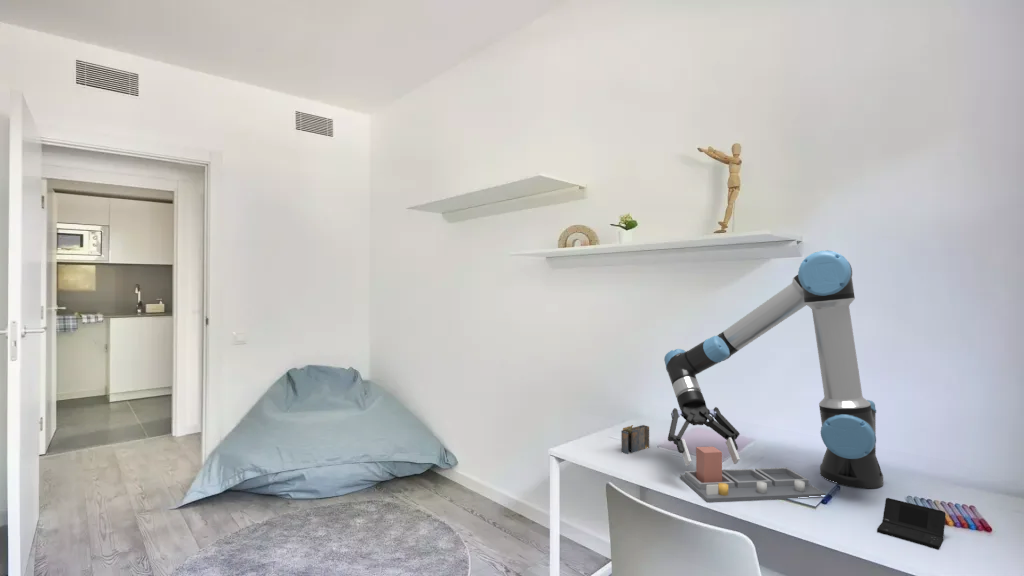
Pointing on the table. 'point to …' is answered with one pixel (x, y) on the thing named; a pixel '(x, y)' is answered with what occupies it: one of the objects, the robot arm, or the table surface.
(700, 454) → the salmon pink square prism
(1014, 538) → the table surface
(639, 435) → the dark grey upright slab
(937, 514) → the handheld gaming console
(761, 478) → the grey compartment tray
